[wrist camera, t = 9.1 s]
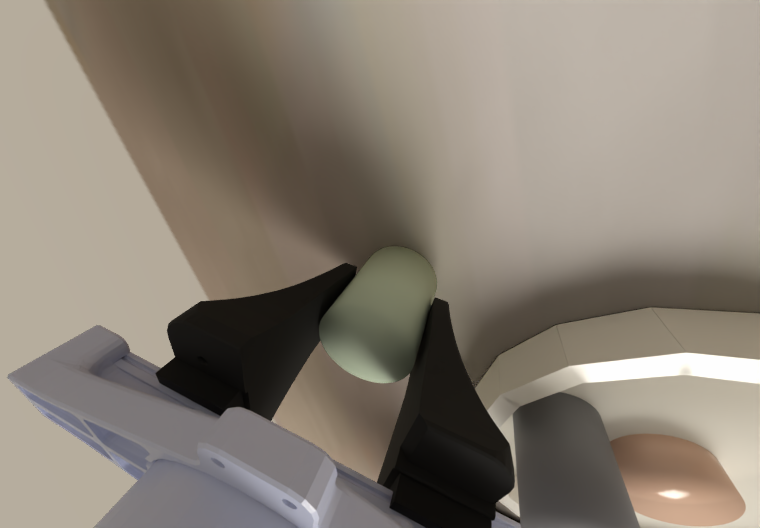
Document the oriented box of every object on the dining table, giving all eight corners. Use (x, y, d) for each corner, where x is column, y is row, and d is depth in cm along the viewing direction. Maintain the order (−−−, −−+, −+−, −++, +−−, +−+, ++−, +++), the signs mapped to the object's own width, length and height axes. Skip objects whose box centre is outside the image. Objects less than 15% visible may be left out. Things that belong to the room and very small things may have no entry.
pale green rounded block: (423, 319, 15) (399, 396, 11) (359, 293, 16) (315, 357, 12) (447, 262, 13) (429, 332, 9) (372, 235, 14) (323, 289, 10)
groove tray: (692, 562, 18) (719, 623, 16) (437, 440, 21) (431, 477, 18) (1177, 446, 8) (1411, 562, 6) (574, 249, 11) (593, 281, 9)
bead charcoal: (571, 451, 15) (601, 579, 11) (499, 419, 16) (502, 528, 12) (622, 415, 13) (683, 559, 9) (535, 379, 14) (555, 497, 9)
